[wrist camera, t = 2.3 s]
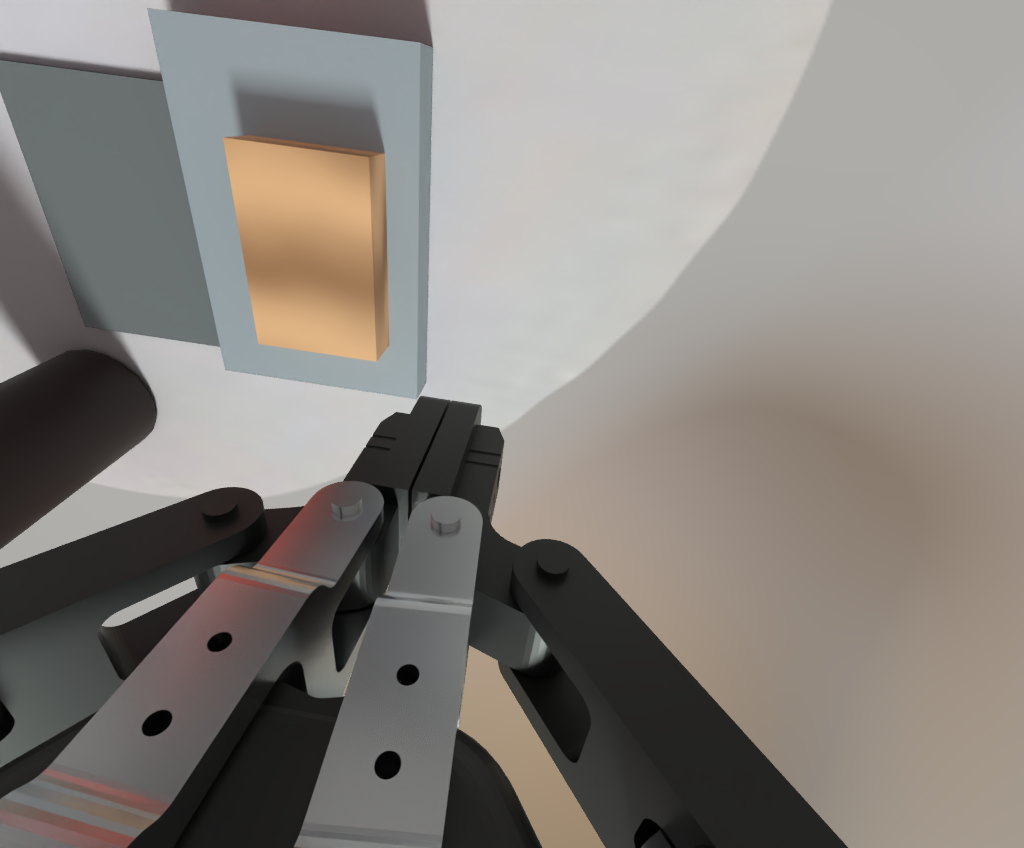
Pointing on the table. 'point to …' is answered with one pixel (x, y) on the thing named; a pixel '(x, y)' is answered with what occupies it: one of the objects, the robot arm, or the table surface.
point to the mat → (113, 197)
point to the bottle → (64, 431)
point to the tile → (313, 244)
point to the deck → (311, 119)
